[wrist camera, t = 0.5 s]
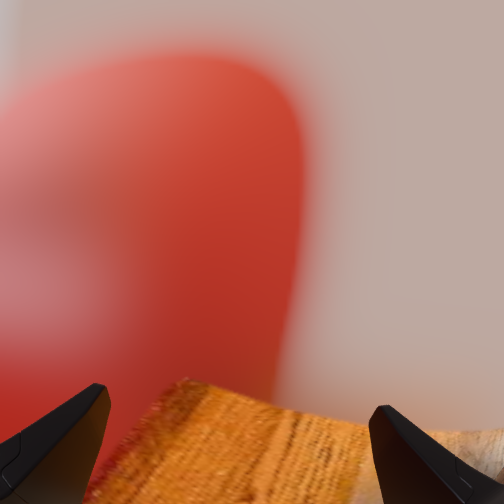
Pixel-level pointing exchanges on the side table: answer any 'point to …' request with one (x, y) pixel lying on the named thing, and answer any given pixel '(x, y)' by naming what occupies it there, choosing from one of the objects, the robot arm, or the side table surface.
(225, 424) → the side table surface
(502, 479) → the chute
